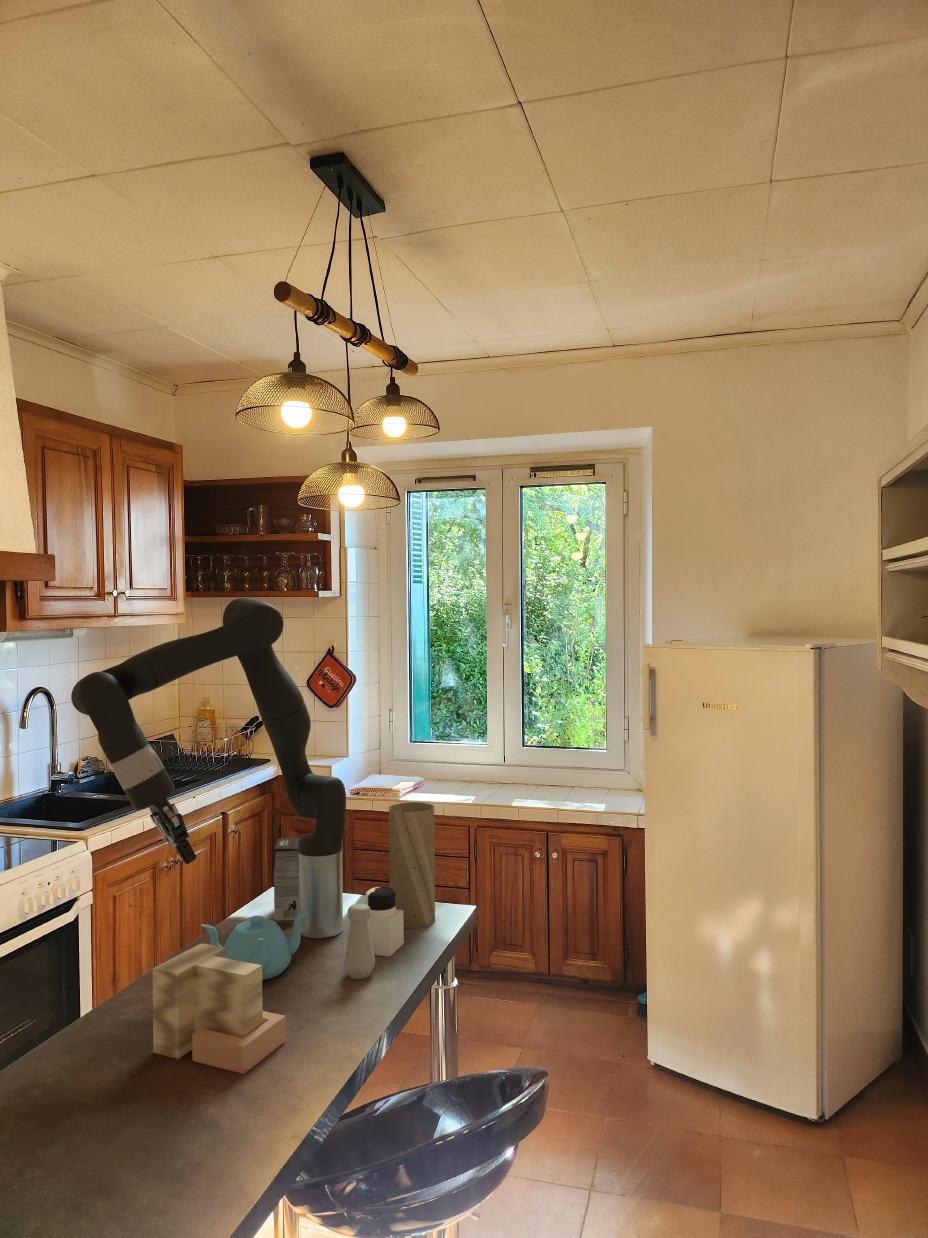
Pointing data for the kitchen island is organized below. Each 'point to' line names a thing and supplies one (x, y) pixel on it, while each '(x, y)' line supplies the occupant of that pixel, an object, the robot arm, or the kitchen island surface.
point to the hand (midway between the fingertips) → (190, 861)
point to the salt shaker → (359, 943)
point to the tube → (413, 861)
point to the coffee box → (286, 879)
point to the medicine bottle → (385, 921)
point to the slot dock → (239, 1045)
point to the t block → (204, 998)
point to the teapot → (261, 944)
